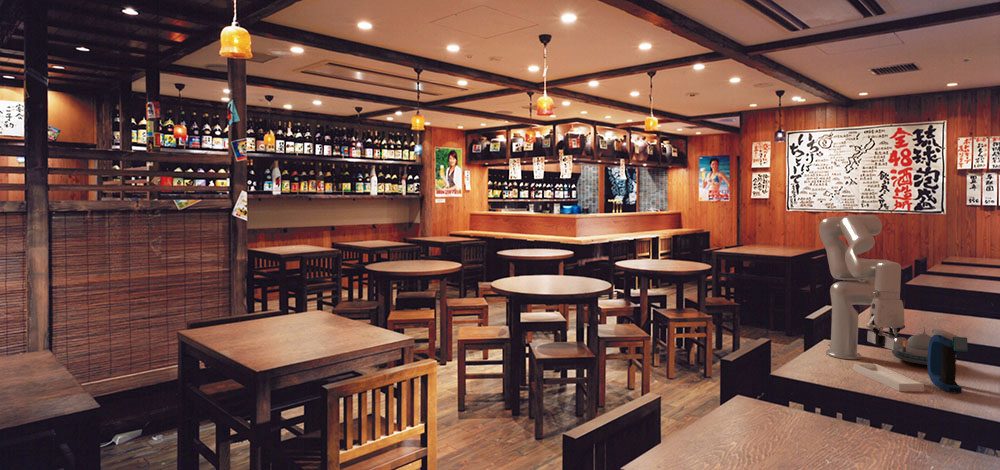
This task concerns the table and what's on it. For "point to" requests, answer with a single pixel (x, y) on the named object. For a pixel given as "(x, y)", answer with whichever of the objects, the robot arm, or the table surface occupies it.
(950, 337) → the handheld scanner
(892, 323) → the robot arm
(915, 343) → the toy
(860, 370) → the tongs rest
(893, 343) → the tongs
